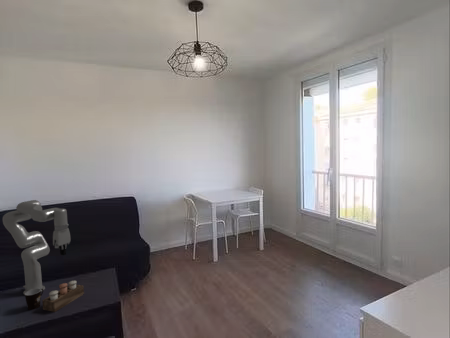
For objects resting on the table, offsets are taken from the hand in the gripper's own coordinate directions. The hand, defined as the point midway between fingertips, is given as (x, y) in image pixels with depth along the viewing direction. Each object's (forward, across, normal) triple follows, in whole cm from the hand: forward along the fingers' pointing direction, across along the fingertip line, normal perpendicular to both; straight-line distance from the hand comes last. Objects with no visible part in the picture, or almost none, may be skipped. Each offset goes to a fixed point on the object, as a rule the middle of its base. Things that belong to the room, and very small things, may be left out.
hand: (63, 254), depth 186 cm
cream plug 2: (+27, -2, +4) cm, 28 cm away
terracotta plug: (+26, +5, +4) cm, 27 cm away
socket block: (+29, +5, +4) cm, 30 cm away
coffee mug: (+29, +14, -9) cm, 34 cm away
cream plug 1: (+27, +12, +4) cm, 30 cm away
